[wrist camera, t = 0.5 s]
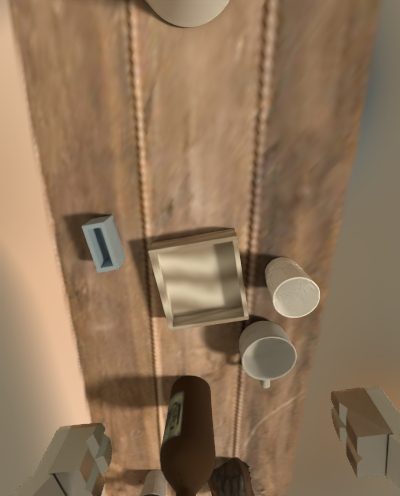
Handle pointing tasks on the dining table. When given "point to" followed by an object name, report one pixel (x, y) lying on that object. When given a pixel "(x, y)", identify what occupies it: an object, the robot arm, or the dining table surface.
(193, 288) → the beige shallow tray
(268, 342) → the teacup
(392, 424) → the robot arm
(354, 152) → the dining table surface
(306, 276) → the white cup
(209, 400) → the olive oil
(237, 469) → the brown rock
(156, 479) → the house plant
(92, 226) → the box
